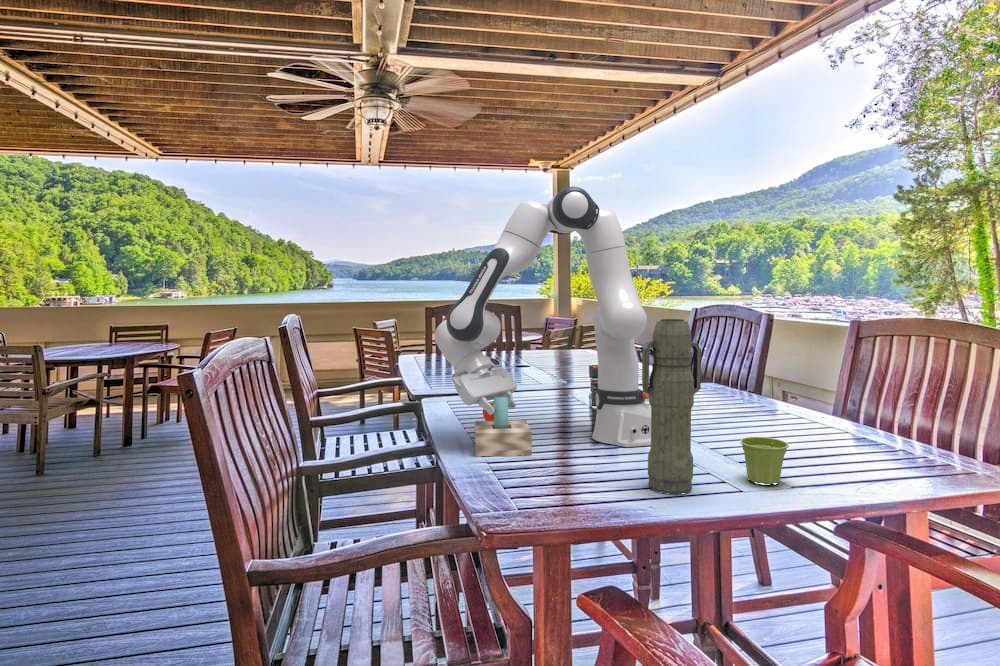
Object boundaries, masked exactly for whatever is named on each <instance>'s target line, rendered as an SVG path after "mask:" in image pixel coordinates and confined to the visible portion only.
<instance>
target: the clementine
mask: <svg viewBox="0 0 1000 666" xmlns="http://www.w3.org/2000/svg"><path fill="white" fill-rule="evenodd" d="M488 403H489V404H490V405H494V400H493V401H488ZM482 416H483V418H484V421H494V414H492V415H489V413H488V412H487V411H486V410H485V409H483V408H482Z"/></svg>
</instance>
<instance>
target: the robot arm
mask: <svg viewBox="0 0 1000 666" xmlns="http://www.w3.org/2000/svg"><path fill="white" fill-rule="evenodd" d="M622 229H623V228H622V227H621V224H620V221H619V218H618V216H617V215H616V214H615V212H613V211H612V210H609V209H605V208H604V209H600V206H598V204H597V203H596V202H595V201H594V199H593V198H592V197H591V195H590V194H589V193H588V192H587V191H586V190H585V189H584V188H582V187H578V186H567V187H565V188H563V189H560V190H559V191H558V192H557V193H556V194H555V195H554V196H552V198H551V199H550V201H548V202H547V203H541V202H539V201H536V200H533V199H532V200H531V199H529V200H524V201H522V202H520V204H518V205H517V207H516V209H515V210H514V212H513V213H512V214H511V216H510V218H509V219H508V221H507V222H506V225H505V227H504V228H503V230H502V233H501V234H500V237H499V239H498V240H497V242H496V243H495V246H494V247H493V248H492V250H490V251H489V252H488V254H487V255H486V257H485V258H484V259H483V261H482V262H481V264H480V266H479V267H478V270H477V271H476V273H475V274H474V276H473V278H472V280H470V283H469V284H468V287H467V288H466V290H465V292H464V293H463V295H462V296H461V297H460V298H459V300H457V302H455V303H454V304H453V305H452V306H451V308H450V309H449V311H448V313H447V315H446V319H445V320H443V321H441V323H440V324H438V326H437V327H436V329H435V332H434V341H435V343H436V345H437V347H438V348H439V351H440V352H441V354H442V355H443V357H444V358H445V360H446V361H447V362H449V363H450V364H451V366H452V368H453V372H454V373H453V374H452V376H451V382H452V383H453V385H454V389H455V390H456V392H457V394H458V396H459V397H460V399H461V401H462V402H463V403H464V404H465V405H467V406H472V405H476V404H477V405H478V406H479V407H480V408H482V410H483V409H485V410H486V411H487V412H488V413H489V415H492V414H494V413H495V412H496V411H497V409H496V408H495V407H494V405H490V404H489V401H492V400H494V398H495V397H507V398H508V409H509V410H512V409H513V410H514V409H515V408H516V406H517V403H516V402H515V400H514V398H513V397H514V395H513V393H514V392H516V390H517V389H518V385H517V383H516V381H515V380H514V378H513V376H511V374H510V373H509V372H508V370H507V369H506V368H504V367H503V366H502V365H503V362H502V361H501V360H499V359H498V358H494V357H489V356H487V355H484V354H483V353H482V350H484V349H485V348H487V347H489V346H490V345H491V344H493V343H494V342H495V341H497V340H498V338H499V337H500V334H501V331H502V323H501V320H500V318H499V317H498V316H497V315H496V314H495V313H493V312H491V311H489V310H487V309H485V308H486V306H487V304H488V302H489V301H490V298H491V296H492V294H493V293H494V291H495V289H496V288H497V286H498V284H499V283H500V282H501V281H502V279H503V278H505V277H506V276H508V275H511V274H517V273H521V272H524V271H526V270H527V269H529V268H530V266H531V265H532V264H533V263H534V261H535V259H536V258H537V255H538V253H539V251H540V248H541V246H542V244H543V242H544V240H545V238H546V237H547V236H548V234H549V233H550V234H551V233H552V234H557V235H569V234H571V233H574V232H576V233H577V235H579V236H580V238H581V241H582V243H583V247H584V254H585V258H586V264H587V269H588V275H589V279H590V283H591V286H592V288H593V291H594V293H595V296H596V299H597V303H598V306H597V307H596V309H595V311H594V313H593V316H592V317H593V319H592V320H593V325H594V326H593V328H594V338H595V348H596V355H597V387H596V393H595V406H596V415H595V417H596V418H595V423H594V427H593V433H592V435H591V439H592V440H594V441H595V442H599V443H604V444H609V445H615V446H619V447H622V448H630V447H631V448H632V447H645V446H646V447H647V446H651V406H650V404H648V403H646V402H645V401H647V400H648V401H649V394H648V393H645V392H643V389H640V388H639V358H638V355H637V352H636V344H635V340H634V339H636V338H638V337H639V336H640V335H642V334H643V333H644V331H645V330H646V327H647V324H648V316H647V313H646V311H645V310H644V307H643V305H642V303H641V302H642V301H641V300H640V296H639V294H638V291H637V287H636V284H635V282H634V279H633V276H632V271H631V267H630V263H629V257H628V252H627V250H628V249H627V247H626V242H625V237H624V233H623V231H622Z"/></svg>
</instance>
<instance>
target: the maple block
mask: <svg viewBox="0 0 1000 666" xmlns="http://www.w3.org/2000/svg"><path fill="white" fill-rule="evenodd" d="M532 436H533V435H532V430H531V428H530V426H529V424H528V422H527V420H526V419H525V420H524V419H523V420H522V419H521V420H520V419H519V420H508V429H495V423H494V421H486V420H474V449H475V458H482V457H481V456H501V457H518V456H517V455H532V453H533V452H532V448H533V447H532V445H533V443H532V442H533V441H532Z"/></svg>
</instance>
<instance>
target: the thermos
mask: <svg viewBox="0 0 1000 666" xmlns="http://www.w3.org/2000/svg"><path fill="white" fill-rule="evenodd" d="M692 337H693V336H692V332H691V328H690V324H689V323H688V321H687V320H686V321H685V319H683V318H682V319H681V318H680V319H678V318H677V319H676V318H675V319H674V318H661V319H660V320H657V321H656V324H655V326H654V329H653V332H652V341H651V340H650V341H649V342H646V343H645V344H644V345H643V347H642V353H641V354H642V355H641V356H642V357H641V358H642V360H641V361H642V363H641V364H642V365H641V367H642V368H641V372H642V373H641V374H642V376H641V377H642V378H641V382H642V383H641V384H642V385H641V386H642V391H643V392H645V393H648V394H649V400H648V403H649V406H650V407H651V445H650V450H649V451H648V452H649V453H648V455H647V475H648V488H649V487H650V488H651V489H652V491H653V490H655V491H657V492H656V493H658V492H662V493H669V494H682V493H687V494H689V493H688V492H690V491H691V490H693V486H692V480H693V478H694V457H693V454H692V451H691V446H692V445H691V442H692V439H691V437H692V408H693V406H694V405H695V404H694V403H695V401H694V400H695V396H694V395H696V394H697V393H698V392H699V391H700V390H701V389H702V388H701V386H702V385H701V383H702V382H701V381H702V380H701V379H702V377H701V376H702V374H701V373H702V349H701V347H700V346H699V345H698V343H696V342H693V341H692ZM651 348H652V359H653V363H652V366H651V367H652V368H651V372H650V350H651ZM692 350H693V352H692ZM692 353H693V356H692ZM692 358H693V359H692ZM691 359H692V361H693V362H692V364H691ZM650 488H649V489H650ZM651 489H650V490H651ZM655 491H654V492H655ZM691 492H692V491H691ZM691 492H690V493H691ZM662 493H661V494H662ZM669 494H668V495H669Z"/></svg>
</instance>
